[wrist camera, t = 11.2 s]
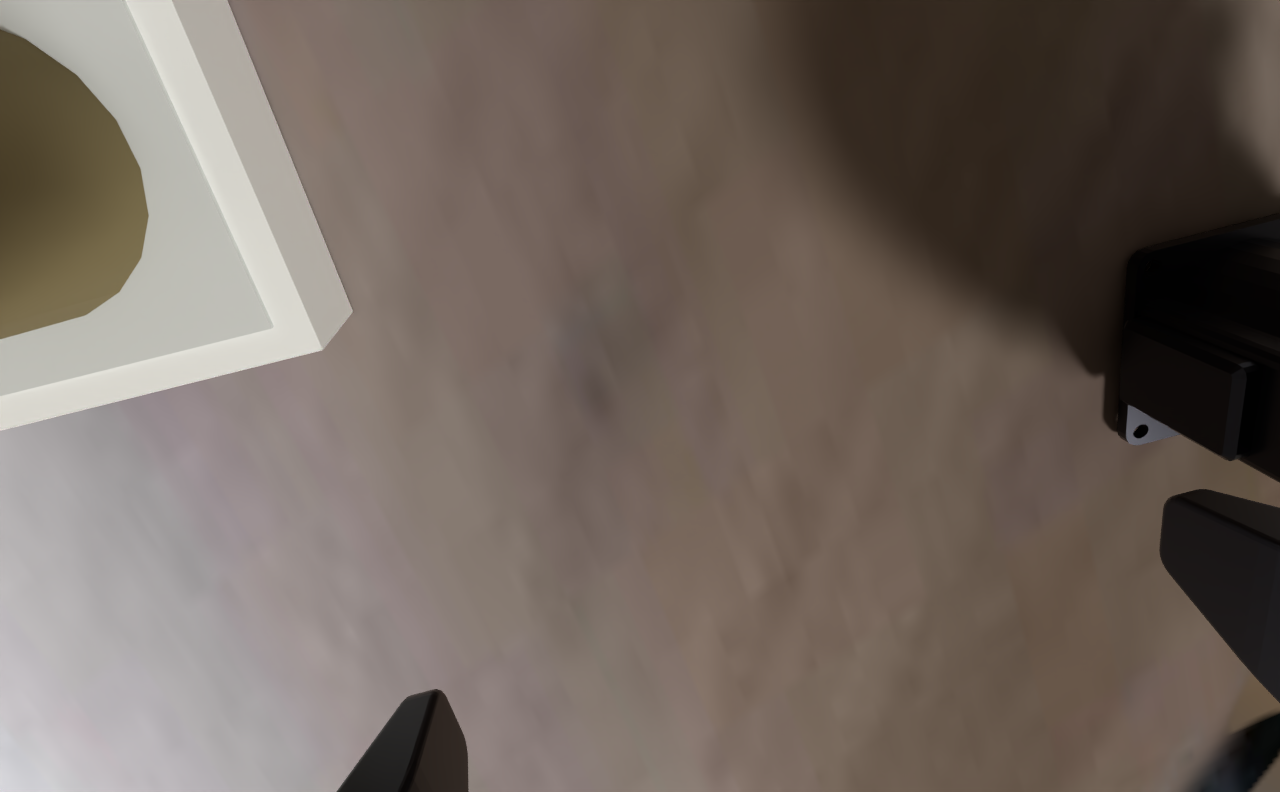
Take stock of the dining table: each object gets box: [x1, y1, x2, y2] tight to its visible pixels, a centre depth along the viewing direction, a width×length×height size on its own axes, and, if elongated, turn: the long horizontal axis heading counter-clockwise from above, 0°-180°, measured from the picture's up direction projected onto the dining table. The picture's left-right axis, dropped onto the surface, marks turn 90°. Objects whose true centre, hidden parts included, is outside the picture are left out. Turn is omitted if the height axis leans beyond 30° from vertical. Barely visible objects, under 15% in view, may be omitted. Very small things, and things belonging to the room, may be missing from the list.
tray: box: [0, 0, 353, 431], centre depth 16 cm, size 10×10×3 cm
